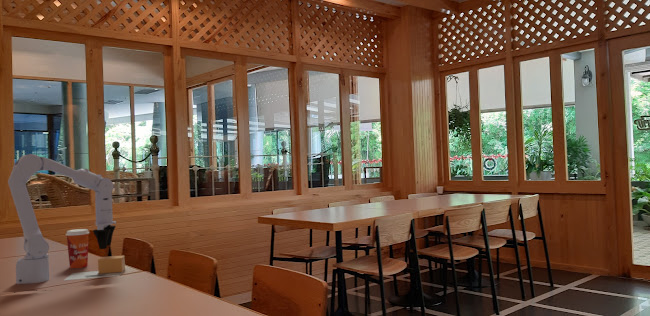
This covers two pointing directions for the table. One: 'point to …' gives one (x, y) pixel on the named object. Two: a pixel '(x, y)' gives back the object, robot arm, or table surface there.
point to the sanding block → (111, 264)
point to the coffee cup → (78, 247)
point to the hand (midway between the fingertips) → (105, 247)
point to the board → (91, 275)
